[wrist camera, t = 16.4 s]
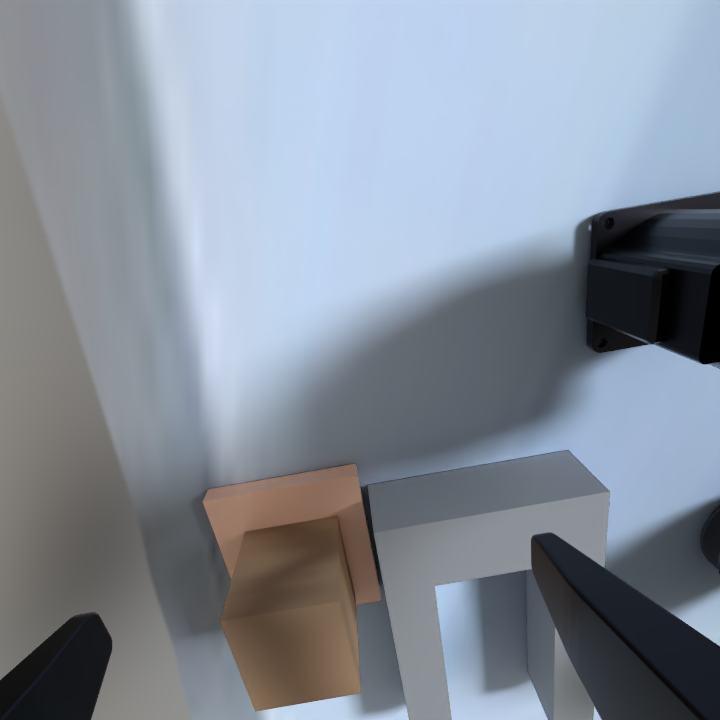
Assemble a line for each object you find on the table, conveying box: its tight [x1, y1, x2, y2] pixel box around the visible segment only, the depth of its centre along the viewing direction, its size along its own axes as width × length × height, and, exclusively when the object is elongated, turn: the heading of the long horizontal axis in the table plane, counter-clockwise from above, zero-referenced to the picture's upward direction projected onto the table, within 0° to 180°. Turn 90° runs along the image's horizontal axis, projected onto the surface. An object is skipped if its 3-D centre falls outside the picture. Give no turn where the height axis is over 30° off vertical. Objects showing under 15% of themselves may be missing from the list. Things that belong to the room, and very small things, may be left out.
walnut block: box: [220, 516, 361, 711], centre depth 20 cm, size 5×6×5 cm
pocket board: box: [368, 450, 610, 720], centre depth 23 cm, size 11×18×4 cm, turn 9°
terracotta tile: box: [203, 464, 382, 605], centre depth 22 cm, size 8×9×1 cm
